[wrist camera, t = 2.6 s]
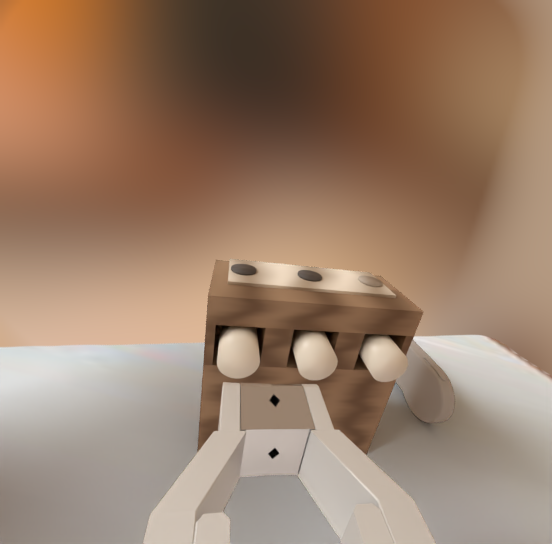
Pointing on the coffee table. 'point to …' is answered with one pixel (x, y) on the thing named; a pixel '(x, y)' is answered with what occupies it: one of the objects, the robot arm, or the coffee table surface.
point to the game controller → (426, 387)
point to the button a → (238, 351)
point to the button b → (383, 357)
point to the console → (306, 316)
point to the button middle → (313, 354)
